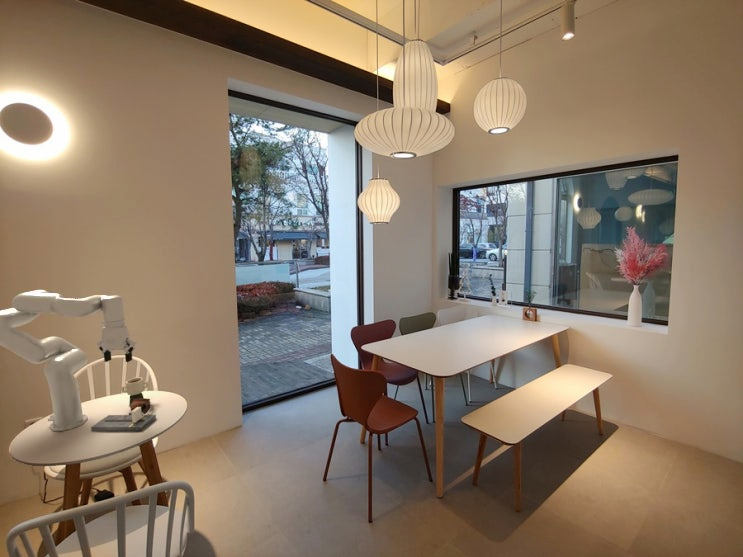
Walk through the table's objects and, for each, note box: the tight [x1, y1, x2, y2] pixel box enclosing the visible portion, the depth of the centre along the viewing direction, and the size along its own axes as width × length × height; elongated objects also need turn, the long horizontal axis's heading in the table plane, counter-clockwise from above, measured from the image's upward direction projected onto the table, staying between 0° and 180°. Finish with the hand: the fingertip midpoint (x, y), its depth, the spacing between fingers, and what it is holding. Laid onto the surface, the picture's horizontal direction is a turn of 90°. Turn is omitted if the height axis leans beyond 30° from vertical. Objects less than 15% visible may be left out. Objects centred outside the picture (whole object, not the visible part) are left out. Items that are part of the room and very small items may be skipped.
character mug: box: [121, 377, 149, 406], centre depth 174 cm, size 11×7×13 cm, turn 121°
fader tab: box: [130, 406, 143, 422], centre depth 156 cm, size 2×4×5 cm, turn 178°
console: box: [90, 414, 157, 432], centre depth 157 cm, size 22×10×2 cm, turn 88°
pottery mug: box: [128, 398, 152, 415], centre depth 167 cm, size 12×10×8 cm
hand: (118, 361), depth 158 cm, fingers open, 9 cm apart
